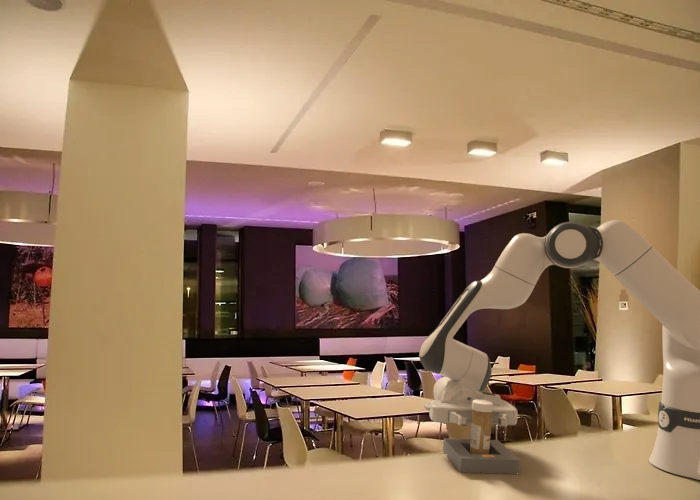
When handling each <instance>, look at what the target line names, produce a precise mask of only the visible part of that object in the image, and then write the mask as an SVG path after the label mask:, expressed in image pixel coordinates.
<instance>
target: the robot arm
mask: <svg viewBox="0 0 700 500" xmlns="http://www.w3.org/2000/svg"><path fill="white" fill-rule="evenodd" d="M590 261H597V262H598V263H600V264H601V265H603V266H604V267H605V268H606V269H607V270H608V271H609V272H610V273H611V274H612V275H613V276H614V278H615V279H616V280H617V281H618V282H619V283H620V284H621V285H622V286H623V288H625V289H626V290H627V291H628V292H629V294H630V295H632V297H633V298H634V299H636V301H637V302H638V303H640V305H642V306H643V308H645V310H647V311H648V312H649V313H650V314H651V315H652V316H653V317H654V318H655V319H656V320H657V321H658V322H659V323H660V324H662V328H661V329H662V331H661V332H662V334H661V335H662V361H663V362H662V363H663V364H662V365H663V371H662V372H663V373H662V388H661V401H660V402H658V412H657V425H658V428H657V433H656V437H655V442H654V445H653V449H652V451H651V455H650V456H649V458H648V461H649V463H650V464H651V465H653V466H654V467H656V468H658V469H660V470H662V471H665V472H668V473H671V474H674V475H678V476H681V477H685V478H690V479H694V480H697V481H700V289H699V288H698V287H696V285H694V284H693V283H692V282H691V281H690V280H688V279H687V277H685V276H684V274H683V275H682V274H681V273H680V271H678V270H677V269H676V268H675V267H674V266H673V265H672V263H670V262H669V261H668V260H667V259H666V258H665V257H664V255H662V254H661V253H660V251H658V250H657V249H656V248H655V246H653V245H652V244H651V243H650V242H649V241H648V240H647V239H646V238H645V237H643V236H642V234H640V233H639V232H638V231H636V229H634V228H632V227H631V226H629V225H628V224H627V223H625V222H623V221H622V220H620V219H619V220H618V219H612V220H608V221H606V222H603V223H602V224H600V225H598V227H592V226H590V225H585V224H582V223H579V222H574V221H566V222H561V223H559V224H557V225H556V226H553V228H552V229H551V230H550V231H548V233H547V234H546V235H545V236H543V237H542V236H541V237H540V236H536V235H534V234H531V233H525V232H522V233H518V234H516V235H514V236H513V237H511V240H509V242H508V244H507V245H506V246H505V247H504V249H503V250H502V252H501V254H500V256H499V257H498V259H497V260H496V262H495V264H494V266H493V267H492V270H491V271H490V272H489V273H488V274H487V275H486V276H485V277H484V278H482V279H481V280H474V281H473V282H470V284H469V285H468V286H467V287H466V288H465V289H464V291H463V292H462V293H461V294H460V295H459V297H458V298H457V299H456V301H455V302H454V303H453V305H452V306H451V307H450V309H449V310H448V311H447V313H446V314H445V316H444V317H442V319H441V321H440V322H439V324H437V326H436V327H435V328H434V329H433V331H431V333H430V334H429V335H428V336H427V337H426V339H425V340H424V341H423V343H422V344H421V346H420V349H419V353H418V357H419V360H420V363H421V365H422V366H423V369H424V370H425V371H428V372H429V373H433V374H436V375H441V376H442V377H440V378H438V379H437V380H436V382H435V383H434V386H433V390H432V391H433V398H434V399H432V400H430V402H429V403H425V404H424V406H423V407H424V409H425V410H426V411H427V412H429V413H428V414H429V418H430V420H431V421H432V422H434V423H438V424H439V423H441V424H442V423H445V424H457V425H458V426H463V427H466V426H471V422H472V402H473V400H477V399H481V400H487V401H491V402H492V403H493V411H492V417H491V425H497V426H499V427H500V428H507V427H508V426H515V425H516V424H517V423H518V408H517V407H515V406H514V405H512V404H511V403H510V402H508V401H506V400H504V399H502V398H501V396H500V394H496V393H492V392H486V391H485V389H486V388H487V387H488V384H489V382H490V381H491V380H490V379H491V376H492V364H491V360H490V358H489V356H488V354H487V353H485V352H483V351H481V350H479V349H477V348H474V347H472V346H470V345H467V344H465V343H463V342H460V341H459V340H456V339H454V336H455V335H456V333H457V332H458V331H459V330H460V328H461V327H462V325H463V324H464V323H465V321H466V320H467V319H468V317H469V316H470V315H471V314H472V313H474V312H476V311H477V310H483V309H484V310H485V309H493V310H511V309H515V308H518V307H520V306H521V305H523V304H525V303H526V302H527V300H528V299H529V298H530V296H531V294H532V292H533V291H534V288H535V287H536V285H537V282H538V281H539V280H540V278H541V275H542V273H543V272H544V271H545V269H546V268H548V267H549V266H556V267H560V268H563V269H574V268H578V267H581V266H582V265H584V264H586V263H589V262H590Z"/></svg>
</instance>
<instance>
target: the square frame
mask: <svg viewBox="0 0 700 500" xmlns="http://www.w3.org/2000/svg"><path fill="white" fill-rule="evenodd" d="M442 452H443V453H444V455H445V454H447V456H446V457H447V458H448V459H449V461H450V462H451V463H452V464H453V466H454V467H455V468H456V469H457V471H458V472H459V473H460V474H461V473H462V474H463V473H466V474H468V473H470V474H495V473H509V474H508V475H520V470H521V469H520V468H521V459H520V458H519V457H518V456H516V455H515V454H514V453H513V452H512V451H511V450H510V449H509V448H507V447H506V446H505V445H504V444H503V443H502V442H501V441H499V440H498V439H490V448H489V454H470V438H443V442H442ZM480 472H481V473H480ZM517 473H518V474H517Z"/></svg>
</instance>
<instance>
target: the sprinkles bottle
mask: <svg viewBox="0 0 700 500" xmlns="http://www.w3.org/2000/svg"><path fill="white" fill-rule="evenodd" d="M492 411H493V403H492V402H491V401H487V400H481V399H477V400H473V402H472V422H471V425H470V434H469V435H470V437H469V439H470V454H489V448H490V440H491V433H492V424H491V417H492Z"/></svg>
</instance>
